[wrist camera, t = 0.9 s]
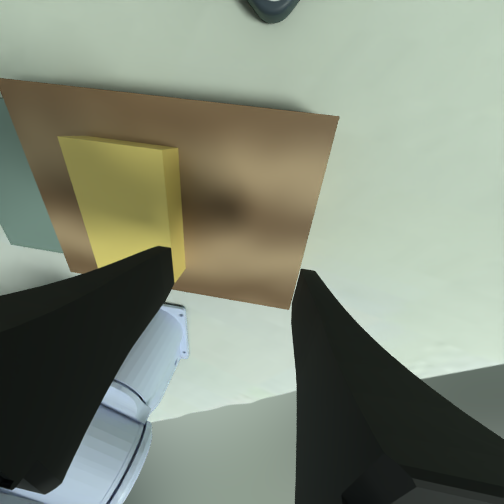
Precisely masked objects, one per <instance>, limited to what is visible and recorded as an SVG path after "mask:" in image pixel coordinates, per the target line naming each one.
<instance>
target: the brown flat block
mask: <svg viewBox="0 0 504 504" xmlns="http://www.w3.org/2000/svg"><path fill="white" fill-rule="evenodd" d="M0 91H1V94H2V97H3V99H4V102H5V104H6V107H7V109H8V112H9V114H10V117H11V120H12V122H13V125H14V127H15V130H16V132H17V135H18V138H19V140H20V143H21V145H22V148H23V150H24V153H25V156H26V158H27V161H28V163H29V166H30V168H31V171H32V173H33V176H34V179H35V181H36V184H37V186H38V189H39V191H40V194H41V197H42V199H43V202H44V204H45V207H46V209H47V212H48V215H49V217H50V220H51V222H52V225H53V227H54V230H55V232H56V235H57V238H58V240H59V243H60V245H61V248H62V250H63V253H64V256H65V258H66V261H67V263H68V266H69V268H70V271H71V272H75V273H81V274H84V273H87V272H89V271H92V270H95V269H98V266H97V263H96V260H95V257H94V253H93V250H92V247H91V244H90V241H89V237H88V234H87V231H86V228H85V224H84V221H83V218H82V215H81V211H80V208H79V205H78V202H77V199H76V195H75V192H74V189H73V186H72V182H71V179H70V176H69V173H68V169H67V166H66V163H65V160H64V156H63V153H62V150H61V147H60V144H59V140H58V137H57V136H91V137H99V138H107V139H115V140H123V141H130V142H138V143H146V144H154V145H161V146H169V147H177V148H178V154H179V170H180V186H181V202H182V218H183V234H184V250H185V266H186V269H185V270H184V272H183V273H182V274H181V276H180V277H179V278H178V280H177V281H176V282H175V283H174V285H173V287H172V289H173V290H178V291H184V292H190V293H196V294H201V295H207V296H213V297H218V298H224V299H230V300H236V301H241V302H247V303H253V304H259V305H264V306H270V307H276V308H282V309H287V310H289V308H290V304H291V301H292V297H293V293H294V289H295V285H296V281H297V278H298V274H299V270H300V266H301V262H302V258H303V255H304V251H305V247H306V243H307V239H308V235H309V232H310V228H311V224H312V220H313V216H314V212H315V208H316V205H317V201H318V197H319V193H320V189H321V185H322V182H323V178H324V174H325V170H326V166H327V162H328V159H329V155H330V151H331V147H332V143H333V139H334V136H335V132H336V128H337V124H338V120H339V116H332V115H323V114H314V113H305V112H296V111H287V110H278V109H270V108H261V107H252V106H243V105H234V104H225V103H216V102H208V101H199V100H190V99H181V98H172V97H163V96H154V95H146V94H137V93H128V92H119V91H110V90H101V89H92V88H83V87H75V86H66V85H57V84H48V83H39V82H30V81H21V80H13V79H4V78H0Z"/></svg>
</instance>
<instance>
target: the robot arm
mask: <svg viewBox="0 0 504 504" xmlns="http://www.w3.org/2000/svg"><path fill="white" fill-rule="evenodd" d="M174 283H175V282H174V272H173V262H172V251H171V248H170V247H163V246H156V247H153V248H150V249H147V250H144V251H142V252H139V253H137V254H134V255H132V256H129V257H127V258H124V259H122V260H119V261H117V262H114V263H111V264H109V265H106V266H103V267H100V268H98V269H95V270H92V271H89V272H87V273H84V274H81V275H78V276H75V277H72V278H68V279H65V280H61V281H58V282H55V283H51V284H48V285H44V286H40V287H36V288H32V289H27V290H23V291H19V292H15V293H11V294H7V295H2V296H0V504H123V502H124V501H125V499H126V498H127V496H128V494H129V492H130V491H131V489H132V487H133V485H134V483H135V481H136V479H137V477H138V475H139V473H140V471H141V469H142V467H143V464H144V462H145V459H146V457H147V454H148V451H149V448H150V445H151V441H152V424H151V423H150V422H149V421H147V419H148V417H149V415H150V413H151V412H152V411H153V410H154V409H155V408H156V407H157V406H158V405H159V403H160V401H161V399H162V397H163V395H164V393H165V391H166V389H167V387H168V384H169V382H170V380H171V378H172V376H173V374H174V371H175V369H176V367H177V365H178V363H179V361H180V358H183V359H187V358H188V357H189V347H188V333H187V318H186V310H185V308H183V307H179V306H173V305H168V304H164V302H165V301H166V299H167V297H168V295H169V293H170V291H171V289H172V287H173V285H174ZM291 325H292V336H293V347H294V357H295V368H296V382H297V443H296V486H295V504H504V439H502V438H501V437H500V436H498V435H497V434H495V433H494V432H492V431H491V430H489V429H488V428H486V427H485V426H483V425H482V424H481V423H479V422H478V421H476V420H475V419H473V418H472V417H470V416H469V415H467V414H466V413H464V412H463V411H462V410H460V409H459V408H458V407H456V406H455V405H453V404H452V403H451V402H449V401H448V400H447V399H445V398H444V397H443V396H441V395H440V394H439V393H437V392H436V391H435V390H433V389H432V388H431V387H429V386H428V385H427V384H426V383H424V382H423V381H422V380H421V379H419V378H418V377H417V376H415V375H414V374H413V373H412V372H410V371H409V370H408V369H407V368H406V367H405V366H403V365H402V364H401V363H400V362H399V361H397V360H396V359H395V358H394V357H393V356H391V355H390V354H389V353H388V352H387V351H386V350H385V349H384V348H382V347H381V346H380V345H379V344H378V343H377V342H376V341H375V340H374V339H373V338H372V337H371V336H370V335H369V334H368V333H367V332H366V331H365V330H364V329H363V328H362V327H361V326H360V325H359V324H358V323H357V322H356V321H355V320H354V319H353V318H352V317H351V315H350V314H349V313H348V312H347V311H346V310H345V309H344V307H343V306H342V305H341V304H340V303H339V302H338V300H337V299H336V298H335V297H334V295H333V294H332V293H331V291H330V290H329V289H328V288H327V286H326V285H325V284H324V282H323V281H322V280H321V278H320V277H319V275H318V274H317V273H316V272H315V271H312V270H306V269H301V271H300V275H299V278H298V282H297V286H296V290H295V294H294V297H293V301H292V317H291Z"/></svg>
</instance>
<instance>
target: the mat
mask: <svg viewBox="0 0 504 504" xmlns="http://www.w3.org/2000/svg"><path fill="white" fill-rule="evenodd" d="M0 224H1V226H2V228H3V230H4V232H5V234H6V236H7V238H8V240H9V242H10V244H11V245H17V246H23V247H29V248H35V249H41V250H46V251H52V252H58V253H63V250H62V248H61V245H60V243H59V240H58V238H57V235H56V232H55V230H54V227H53V225H52V222H51V220H50V217H49V215H48V212H47V209H46V207H45V204H44V202H43V199H42V197H41V194H40V191H39V189H38V186H37V184H36V181H35V179H34V176H33V173H32V171H31V168H30V166H29V163H28V161H27V158H26V156H25V153H24V150H23V148H22V145H21V143H20V140H19V138H18V135H17V132H16V130H15V127H14V125H13V122H12V120H11V117H10V114H9V112H8V109H7V107H6V104H5V102H4V99H3V98H0Z"/></svg>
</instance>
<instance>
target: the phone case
mask: <svg viewBox="0 0 504 504" xmlns="http://www.w3.org/2000/svg"><path fill="white" fill-rule="evenodd" d="M247 1H248V2H249V4H250V5H251V6H252V8H253V9H254V10H255V12H256V13H257V14H258V16H259V17H260V18H261V19H262V20H264V21H265V22H268V23H278V22H280V21H283V20H284V19H285V18H286V17H287V16H288V15H289V14H290V13H291V12H292V10H293V9H294V8H295V6H296V5H297V3H298V2H299V1H300V0H247Z"/></svg>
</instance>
